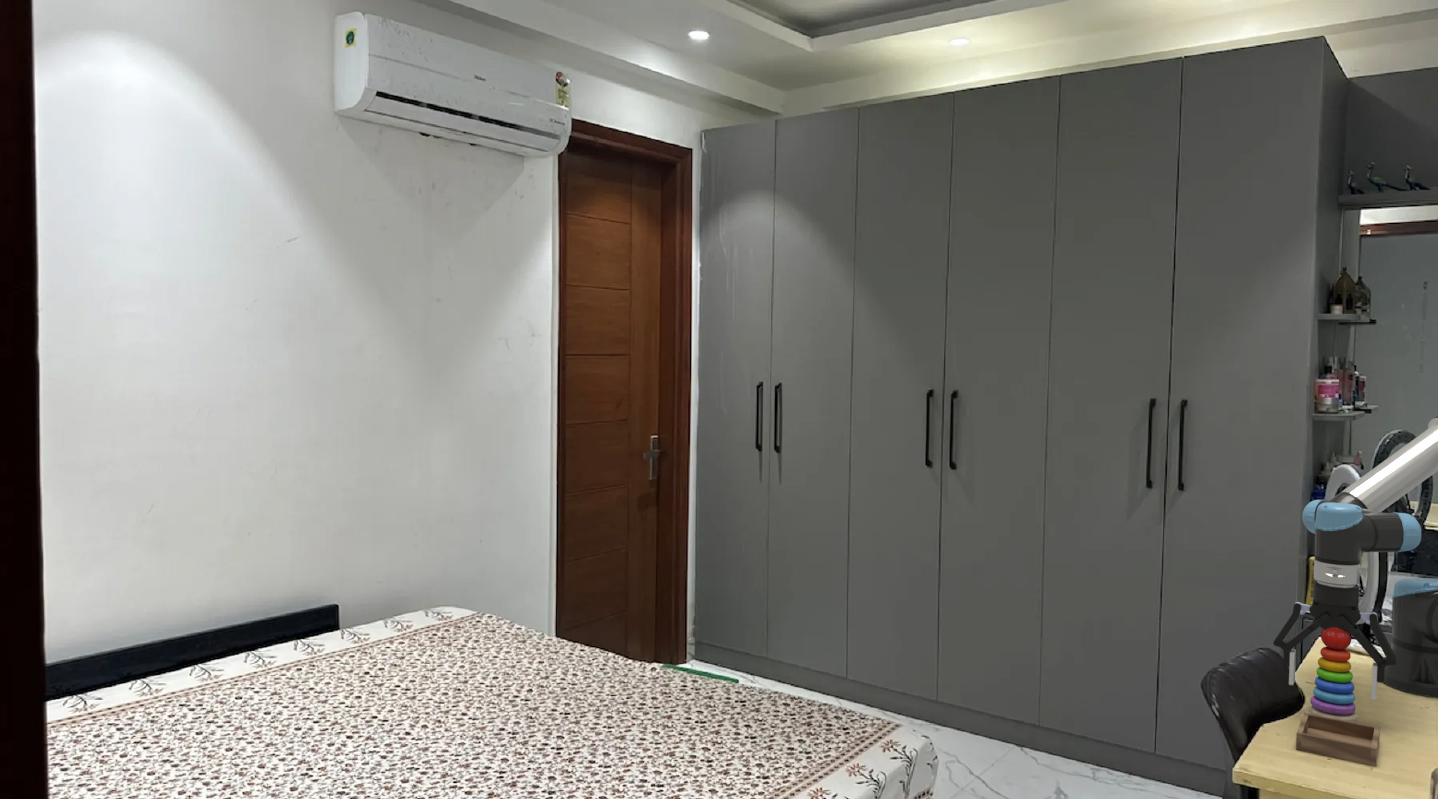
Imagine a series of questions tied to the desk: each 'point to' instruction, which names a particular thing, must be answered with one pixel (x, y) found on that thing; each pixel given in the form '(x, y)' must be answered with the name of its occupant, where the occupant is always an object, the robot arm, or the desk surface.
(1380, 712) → the desk surface
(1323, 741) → the walnut open square tray
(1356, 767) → the desk surface
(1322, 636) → the stacking toy
